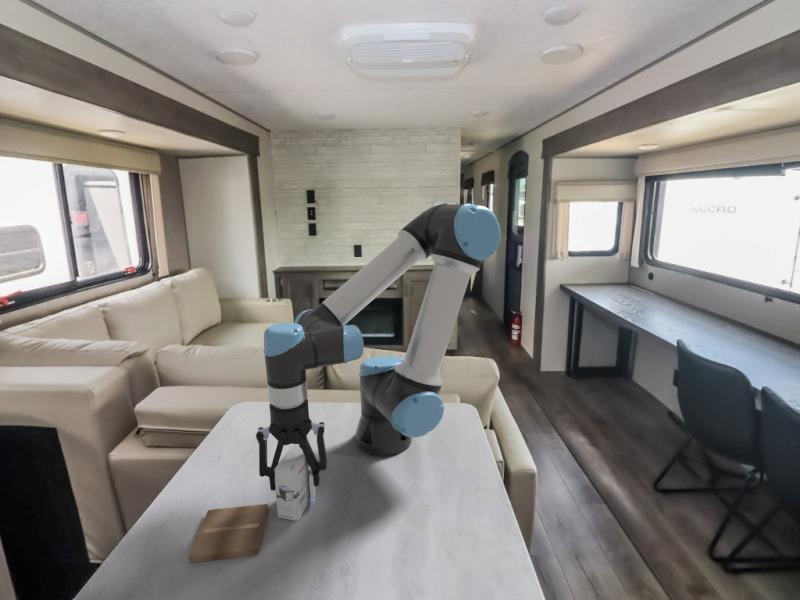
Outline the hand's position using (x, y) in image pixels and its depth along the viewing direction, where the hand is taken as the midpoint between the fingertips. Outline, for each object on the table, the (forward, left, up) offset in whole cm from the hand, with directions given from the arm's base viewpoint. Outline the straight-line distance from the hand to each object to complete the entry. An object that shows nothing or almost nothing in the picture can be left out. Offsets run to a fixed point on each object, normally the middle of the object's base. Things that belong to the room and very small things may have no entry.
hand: (296, 499), depth 91 cm
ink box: (0, 0, -2) cm, 2 cm away
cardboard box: (+12, +6, -1) cm, 13 cm away
